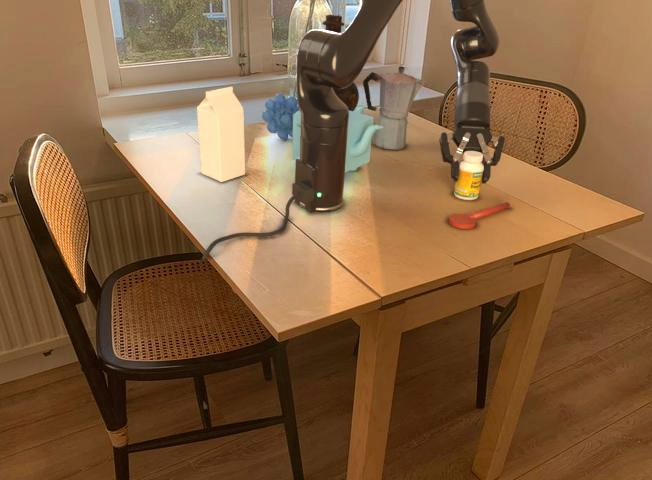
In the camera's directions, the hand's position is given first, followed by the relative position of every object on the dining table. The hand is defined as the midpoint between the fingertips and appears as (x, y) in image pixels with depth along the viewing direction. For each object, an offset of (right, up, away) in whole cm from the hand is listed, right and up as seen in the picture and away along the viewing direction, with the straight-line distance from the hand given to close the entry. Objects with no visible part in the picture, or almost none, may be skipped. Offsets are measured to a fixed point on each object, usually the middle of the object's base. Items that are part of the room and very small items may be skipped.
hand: (470, 180), depth 124 cm
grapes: (-41, +16, +30) cm, 53 cm away
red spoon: (+1, -8, -5) cm, 10 cm away
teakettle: (-29, +5, +14) cm, 32 cm away
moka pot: (-14, +15, +30) cm, 37 cm away
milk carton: (-54, +3, +9) cm, 55 cm away
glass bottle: (-30, +27, +49) cm, 63 cm away
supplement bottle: (0, -3, +4) cm, 5 cm away
